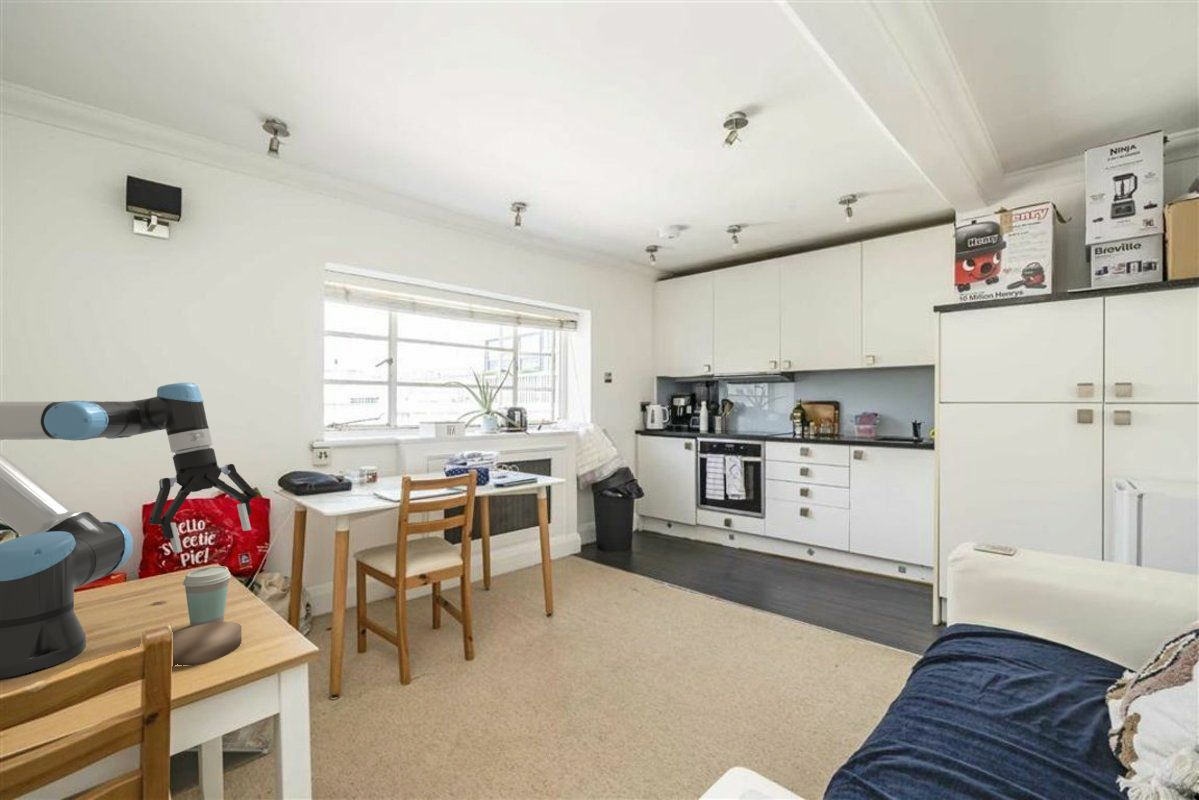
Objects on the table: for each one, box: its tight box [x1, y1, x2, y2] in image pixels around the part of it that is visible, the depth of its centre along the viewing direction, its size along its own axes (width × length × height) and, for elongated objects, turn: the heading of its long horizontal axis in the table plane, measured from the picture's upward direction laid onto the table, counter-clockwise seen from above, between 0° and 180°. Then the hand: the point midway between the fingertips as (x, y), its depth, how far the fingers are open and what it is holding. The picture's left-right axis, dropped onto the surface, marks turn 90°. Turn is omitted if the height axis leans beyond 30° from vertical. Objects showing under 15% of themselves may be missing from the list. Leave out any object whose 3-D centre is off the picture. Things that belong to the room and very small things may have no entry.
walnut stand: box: [172, 621, 243, 668], centre depth 103 cm, size 13×13×3 cm
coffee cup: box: [182, 565, 232, 627], centre depth 115 cm, size 8×9×12 cm
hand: (214, 540), depth 117 cm, fingers open, 13 cm apart
